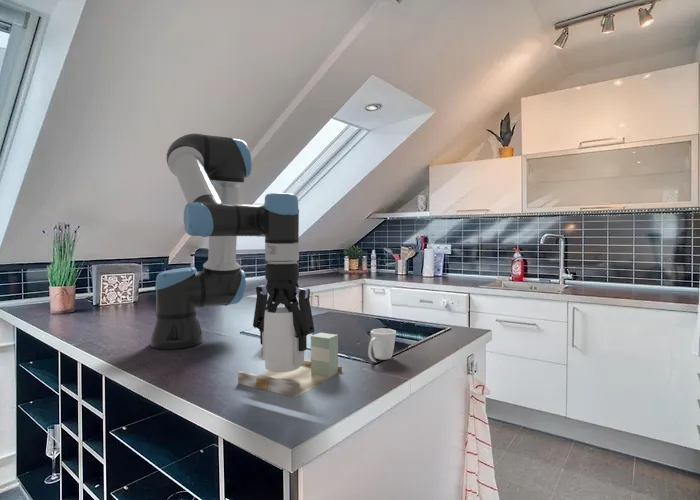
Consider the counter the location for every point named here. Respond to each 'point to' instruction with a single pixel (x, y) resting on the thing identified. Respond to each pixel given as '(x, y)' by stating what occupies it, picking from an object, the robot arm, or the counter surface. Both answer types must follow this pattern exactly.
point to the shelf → (285, 380)
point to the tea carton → (324, 354)
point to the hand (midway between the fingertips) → (283, 361)
